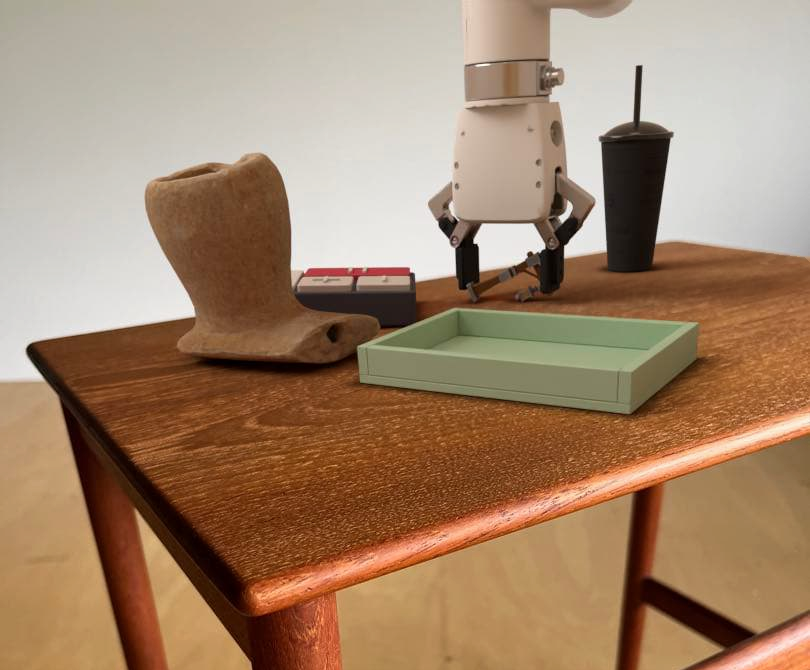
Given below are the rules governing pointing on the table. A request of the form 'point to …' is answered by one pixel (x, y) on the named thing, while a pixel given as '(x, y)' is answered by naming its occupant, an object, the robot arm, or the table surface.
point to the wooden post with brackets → (508, 274)
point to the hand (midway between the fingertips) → (508, 288)
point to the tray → (534, 357)
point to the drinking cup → (633, 187)
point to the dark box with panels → (359, 292)
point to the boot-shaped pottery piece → (243, 266)
